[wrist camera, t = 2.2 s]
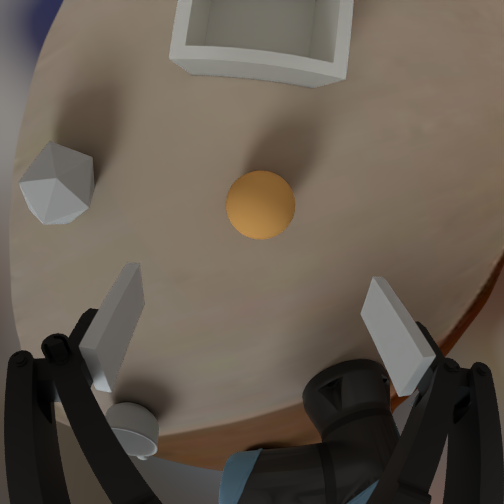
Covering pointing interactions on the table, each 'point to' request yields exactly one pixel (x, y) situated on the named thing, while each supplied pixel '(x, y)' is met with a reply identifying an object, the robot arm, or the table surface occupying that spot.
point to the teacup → (134, 428)
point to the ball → (260, 204)
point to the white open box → (264, 39)
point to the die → (58, 184)
